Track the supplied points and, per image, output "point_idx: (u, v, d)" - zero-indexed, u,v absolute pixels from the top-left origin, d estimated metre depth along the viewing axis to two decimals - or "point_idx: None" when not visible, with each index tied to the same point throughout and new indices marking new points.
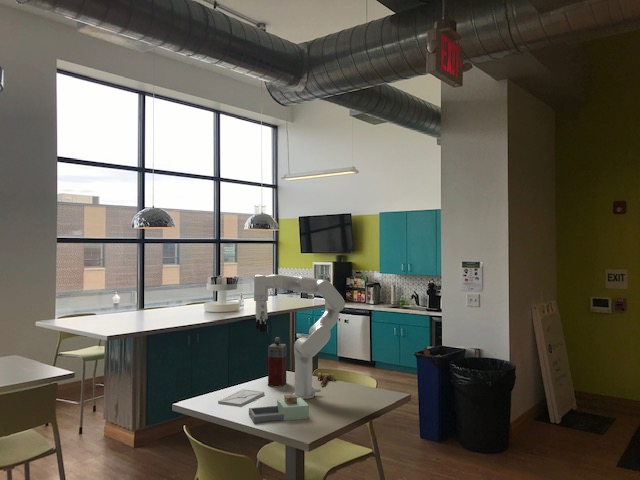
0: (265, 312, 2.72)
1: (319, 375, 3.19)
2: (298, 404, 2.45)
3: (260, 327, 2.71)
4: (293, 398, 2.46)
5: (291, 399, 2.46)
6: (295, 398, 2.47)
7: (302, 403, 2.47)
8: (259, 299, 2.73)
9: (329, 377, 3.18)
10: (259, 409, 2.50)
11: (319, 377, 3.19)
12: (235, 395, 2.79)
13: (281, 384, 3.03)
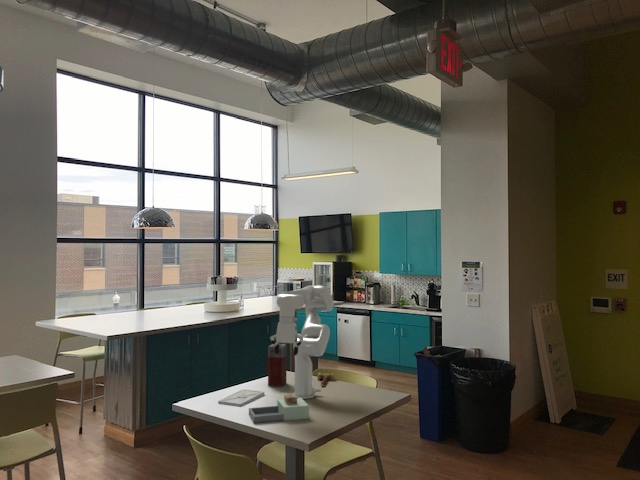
0: None
1: (319, 375, 3.19)
2: (298, 404, 2.45)
3: (295, 350, 2.58)
4: (293, 398, 2.46)
5: (291, 399, 2.46)
6: (295, 398, 2.47)
7: (302, 403, 2.47)
8: (292, 321, 2.59)
9: (329, 377, 3.18)
10: (259, 409, 2.50)
11: (319, 377, 3.18)
12: (235, 395, 2.79)
13: (281, 384, 3.03)
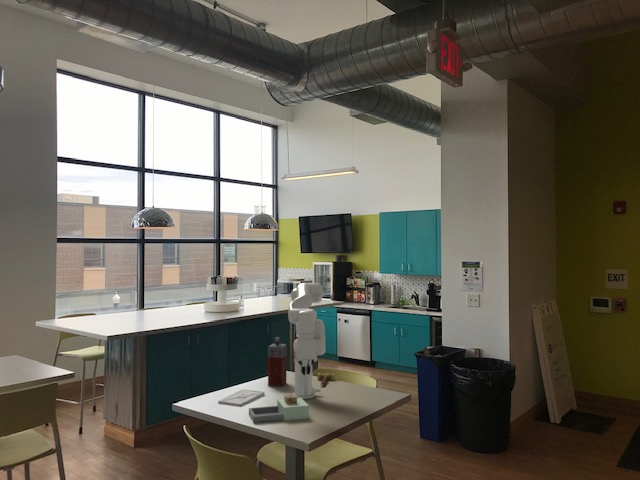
0: None
1: (319, 375, 3.19)
2: (298, 404, 2.45)
3: (309, 370, 2.51)
4: (293, 398, 2.46)
5: (291, 399, 2.46)
6: (295, 398, 2.47)
7: (302, 403, 2.47)
8: (313, 337, 2.51)
9: (329, 377, 3.18)
10: (259, 409, 2.50)
11: (319, 377, 3.18)
12: (235, 395, 2.79)
13: (281, 384, 3.03)
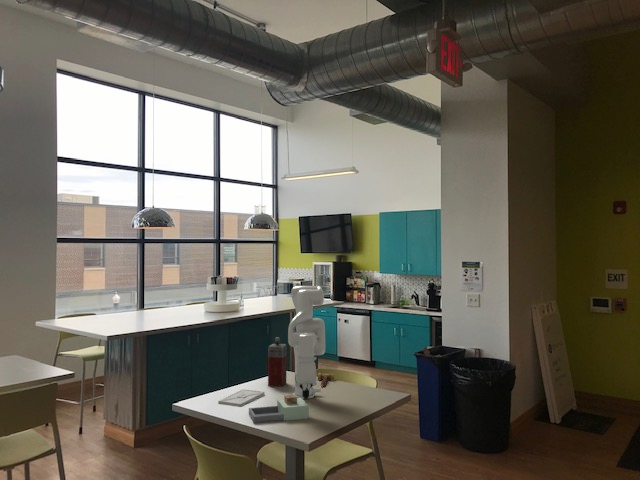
0: None
1: (319, 375, 3.18)
2: (298, 404, 2.45)
3: (308, 394, 2.50)
4: (293, 398, 2.46)
5: (291, 399, 2.46)
6: (295, 398, 2.47)
7: (302, 403, 2.47)
8: (313, 360, 2.51)
9: (329, 377, 3.18)
10: (259, 409, 2.50)
11: (319, 377, 3.18)
12: (235, 395, 2.79)
13: (281, 384, 3.03)
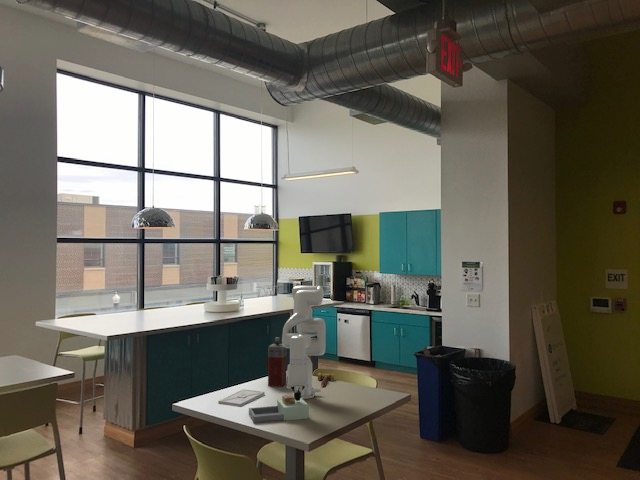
0: None
1: (319, 375, 3.18)
2: (298, 404, 2.45)
3: (299, 396, 2.49)
4: (291, 398, 2.46)
5: (289, 399, 2.46)
6: (293, 398, 2.46)
7: (302, 403, 2.47)
8: (305, 362, 2.50)
9: (329, 377, 3.18)
10: (259, 409, 2.50)
11: (319, 377, 3.18)
12: (235, 395, 2.79)
13: (281, 384, 3.03)
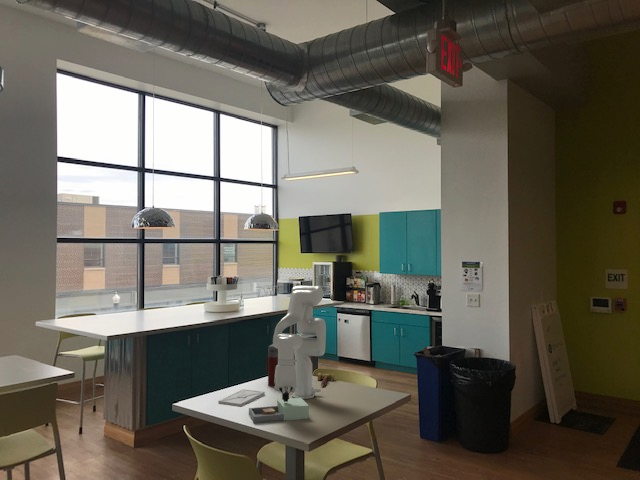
0: None
1: (319, 375, 3.18)
2: (298, 404, 2.45)
3: (287, 397, 2.47)
4: None
5: None
6: None
7: (302, 403, 2.47)
8: (293, 363, 2.48)
9: (329, 377, 3.17)
10: (259, 409, 2.50)
11: (319, 377, 3.18)
12: (235, 395, 2.79)
13: None
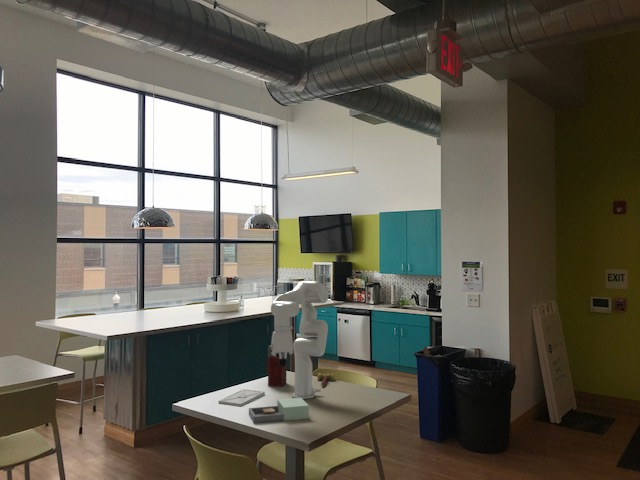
0: None
1: (319, 375, 3.18)
2: (298, 404, 2.45)
3: (284, 362, 2.52)
4: None
5: None
6: None
7: (302, 403, 2.47)
8: (289, 329, 2.53)
9: (329, 377, 3.17)
10: (259, 409, 2.50)
11: (319, 377, 3.17)
12: (235, 395, 2.79)
13: (281, 384, 3.03)
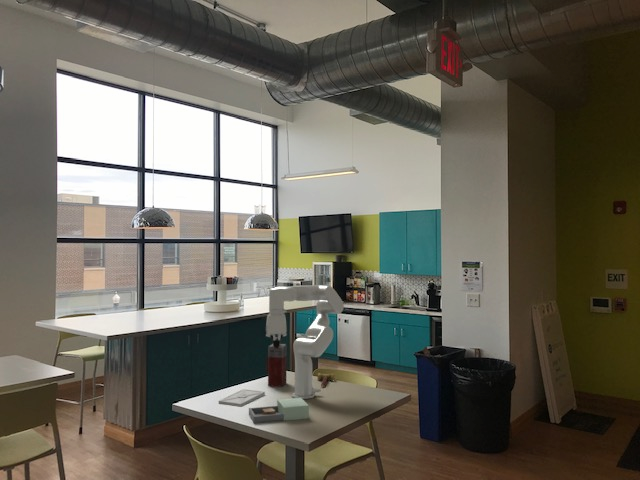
0: None
1: (319, 375, 3.17)
2: (298, 404, 2.45)
3: (278, 343, 2.66)
4: None
5: None
6: None
7: (302, 403, 2.47)
8: (283, 313, 2.67)
9: (329, 377, 3.17)
10: (259, 409, 2.50)
11: (319, 378, 3.17)
12: (235, 395, 2.79)
13: (281, 384, 3.03)
